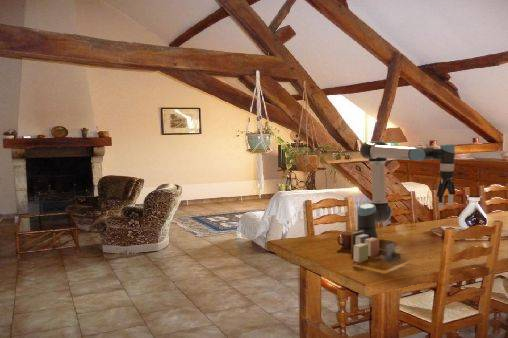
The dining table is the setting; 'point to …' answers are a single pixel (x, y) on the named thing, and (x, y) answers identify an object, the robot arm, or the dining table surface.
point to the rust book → (372, 246)
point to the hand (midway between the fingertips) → (445, 206)
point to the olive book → (360, 253)
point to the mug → (345, 240)
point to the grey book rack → (379, 256)
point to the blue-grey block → (361, 238)
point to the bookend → (390, 252)
